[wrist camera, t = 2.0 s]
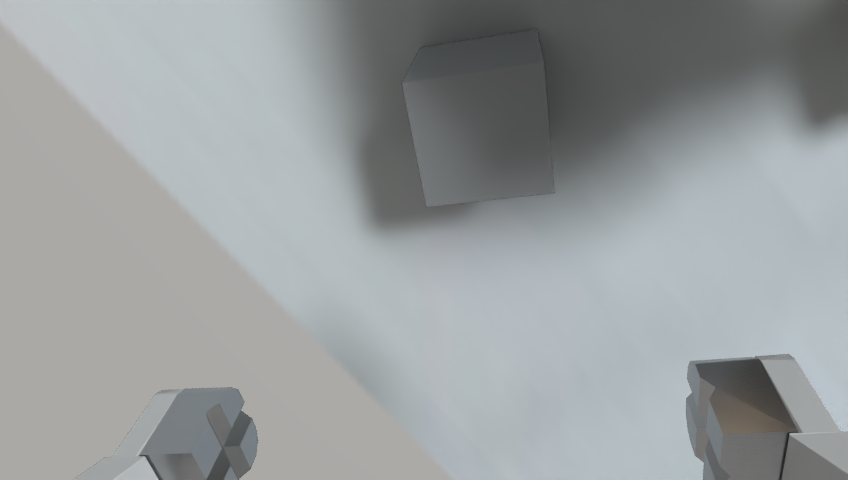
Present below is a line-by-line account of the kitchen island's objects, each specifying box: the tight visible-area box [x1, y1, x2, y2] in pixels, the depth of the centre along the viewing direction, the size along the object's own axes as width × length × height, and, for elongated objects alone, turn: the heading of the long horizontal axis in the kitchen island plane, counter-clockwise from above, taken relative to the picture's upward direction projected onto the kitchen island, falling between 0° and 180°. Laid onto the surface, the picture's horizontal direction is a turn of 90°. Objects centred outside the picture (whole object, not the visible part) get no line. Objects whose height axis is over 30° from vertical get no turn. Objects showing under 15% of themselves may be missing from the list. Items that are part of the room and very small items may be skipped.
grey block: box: [402, 29, 555, 207], centre depth 24 cm, size 5×5×6 cm
